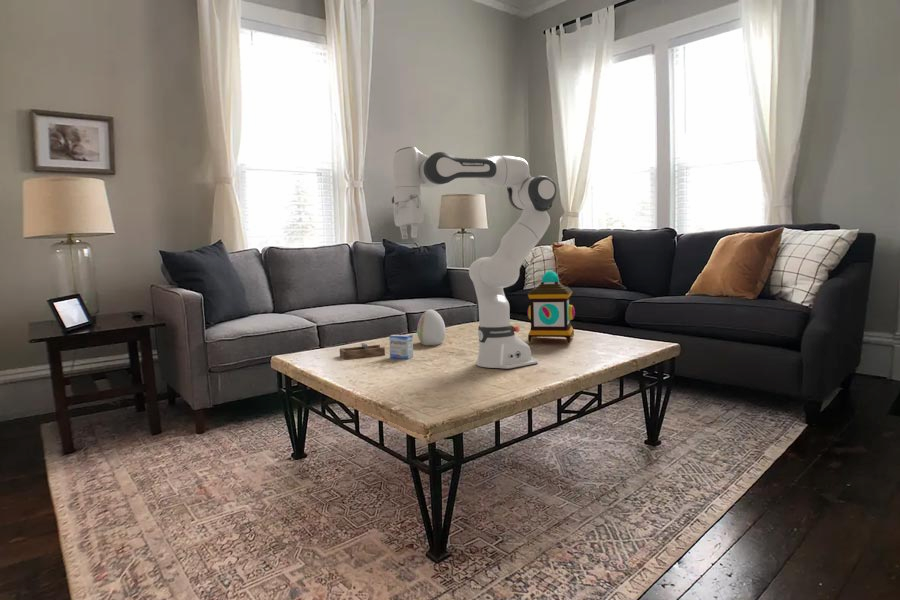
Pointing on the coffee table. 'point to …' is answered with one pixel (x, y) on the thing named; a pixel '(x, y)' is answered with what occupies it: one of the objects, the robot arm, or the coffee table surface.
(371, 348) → the wooden tray
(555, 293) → the decorative lantern
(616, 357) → the coffee table surface
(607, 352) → the coffee table surface
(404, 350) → the medicine box
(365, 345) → the pusher
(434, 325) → the decorative egg
